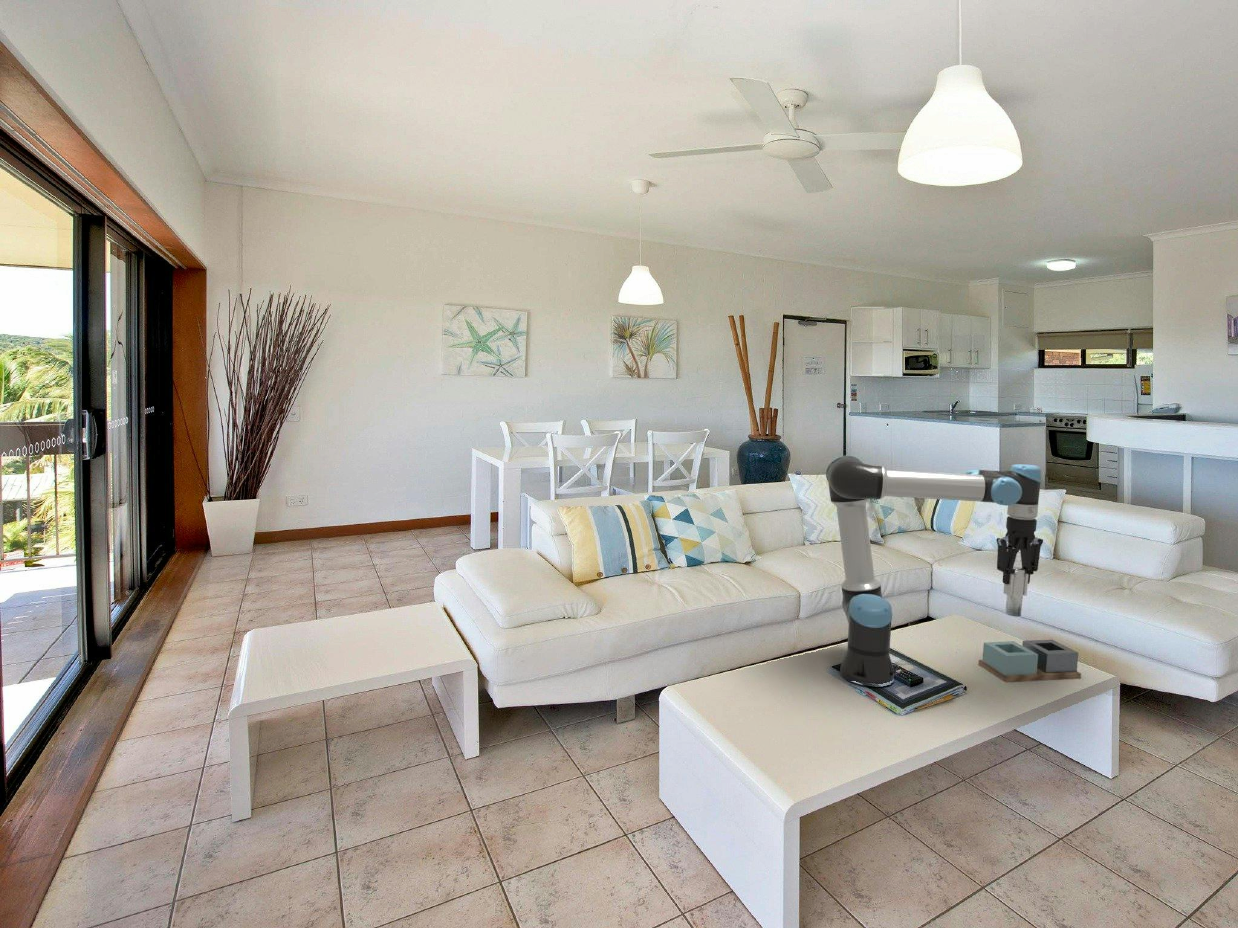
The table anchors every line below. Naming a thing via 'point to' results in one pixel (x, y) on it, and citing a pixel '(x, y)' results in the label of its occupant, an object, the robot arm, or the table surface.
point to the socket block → (1053, 656)
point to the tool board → (1030, 675)
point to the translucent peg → (1016, 593)
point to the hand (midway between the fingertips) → (1014, 594)
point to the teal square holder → (1010, 658)
